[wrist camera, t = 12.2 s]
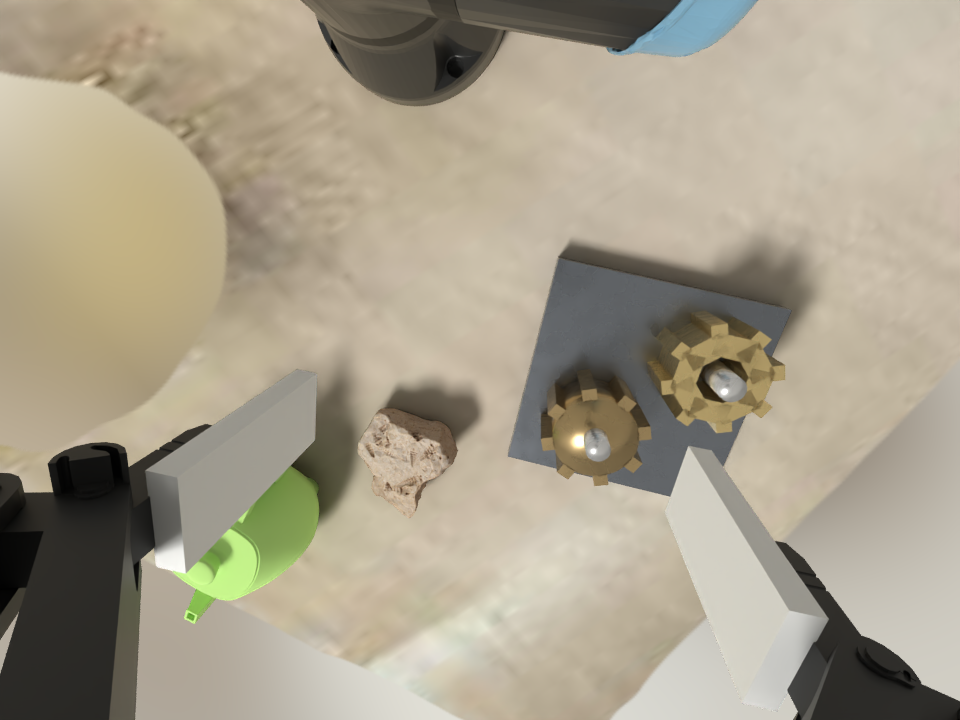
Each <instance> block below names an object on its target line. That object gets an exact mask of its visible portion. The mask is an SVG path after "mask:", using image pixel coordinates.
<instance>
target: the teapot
mask: <svg viewBox="0 0 960 720" xmlns="http://www.w3.org/2000/svg"><path fill="white" fill-rule="evenodd" d="M318 491H319V487H318V484H317V483H316V482H315V481H314V480H313V479H311V478H308V477H305V476H304V475H303V474H302V473H300V472H299V471H298V470H296V469H295V468H293V467H292V466H290V467H289V468H288V469H287V470H286V471H285V472H284V473H283V474H282V475H281V476H280V477H279V478H278V479H277V480H276V481H275V482H274V483H273V484H272V485H271V486H270V487H269V488H268V489H267V490H266V491H265V492H264V493H263V495H262V496H261V497H260V498H259V499H258V500H257V501H256V502H255V503H254V504H253V505H252V506H251V507H250V508H249V509H248V510H247V511H246V512H245V513H244V514H243V515H242V516H241V517H240V518H239V519H238V520H237V521H236V522H235V523H234V525H233V526H232V527H231V528H230V529H229V530H228V531H227V532H226V533H225V534H224V535H223V536H222V537H221V538H220V539H219V540H218V541H217V542H216V543H215V544H214V545H213V546H212V547H211V548H210V549H209V550H208V551H207V552H206V553H205V554H204V556H203V557H202V558H201V559H200V560H199V561H198V562H197V563H196V564H195V565H194V566H193V567H192V568H191V569H190V570H189V571H188V572H187V573H186V574H185V573H180V572H176V571H173V572H174V574H176V575H177V576H178V577H179V578H180V579H182V580H183V581H184V582H186V583H187V584H189V585H190V586H192V587H194V588H196V591H195V593H194V596H193V598H192V601H191V603H190V606H189V608H188V609H187V610H186V613H185V617H184V619H186V620H188V621H190V622H192V623H194V624H195V623H196V622H197V620H198V619H199V618H200V617H201V616H202V615H203V613H204V612H205V611H206V610H207V609H208V607H209V606H210V605H211V604H212V603H213V601H214V600H215V599H216V598H217V599H221V600H234V599H237V598H240V597H242V596H245V595H247V594H249V593H251V592H253V591H255V590H257V589H259V588H260V587H262V586H264V585H266V584H267V583H269V582H271V581H272V580H274V579H275V578H276V577H278V576H279V575H280V574H282V573H283V572H284V571H286V570H287V569H288V568H289V567H290V566H291V565H292V564H293V563H294V562H295V561H296V560H297V559H298V558H299V557H300V556H301V555H302V554H303V553H304V551H305V550H306V549H307V547H308V546H309V544H310V543H311V541H312V539H313V537H314V534H315V531H316V528H317V524H318V518H319V502H318V497H317V493H318Z"/></svg>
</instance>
